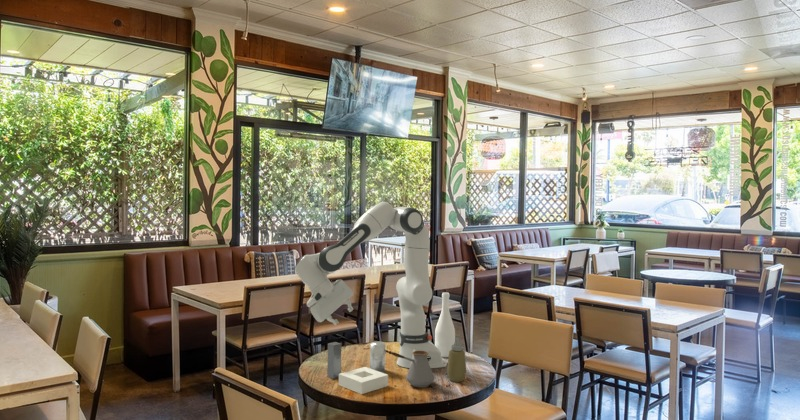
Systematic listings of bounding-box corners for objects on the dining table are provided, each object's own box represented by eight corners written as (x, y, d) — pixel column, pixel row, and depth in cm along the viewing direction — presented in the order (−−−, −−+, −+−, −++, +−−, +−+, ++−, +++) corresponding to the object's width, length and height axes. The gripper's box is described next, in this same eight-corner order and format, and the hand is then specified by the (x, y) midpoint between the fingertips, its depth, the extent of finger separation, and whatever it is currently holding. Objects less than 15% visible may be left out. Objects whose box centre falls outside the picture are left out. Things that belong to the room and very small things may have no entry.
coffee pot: (428, 378, 235) (428, 342, 234) (438, 387, 224) (439, 350, 223) (379, 383, 228) (379, 346, 228) (387, 392, 217) (387, 354, 217)
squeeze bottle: (443, 378, 235) (444, 335, 235) (460, 375, 239) (461, 333, 238) (452, 384, 228) (453, 340, 228) (469, 381, 231) (470, 338, 231)
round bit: (383, 368, 248) (384, 341, 247) (386, 372, 241) (386, 345, 241) (369, 368, 247) (369, 341, 246) (370, 373, 240) (371, 345, 240)
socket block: (365, 377, 235) (365, 366, 235) (388, 385, 225) (388, 374, 225) (338, 385, 225) (338, 373, 225) (361, 394, 215) (361, 382, 215)
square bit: (334, 374, 238) (335, 341, 237) (340, 377, 235) (341, 343, 234) (327, 376, 235) (327, 343, 235) (333, 379, 232) (333, 345, 232)
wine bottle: (456, 353, 272) (458, 291, 271) (451, 358, 263) (452, 295, 263) (438, 351, 276) (439, 290, 275) (432, 356, 267) (433, 293, 266)
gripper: (336, 280, 239) (356, 305, 239) (303, 306, 225) (324, 334, 225) (343, 274, 235) (364, 300, 235) (309, 301, 221) (331, 329, 221)
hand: (344, 317), depth 230 cm, fingers open, 8 cm apart
